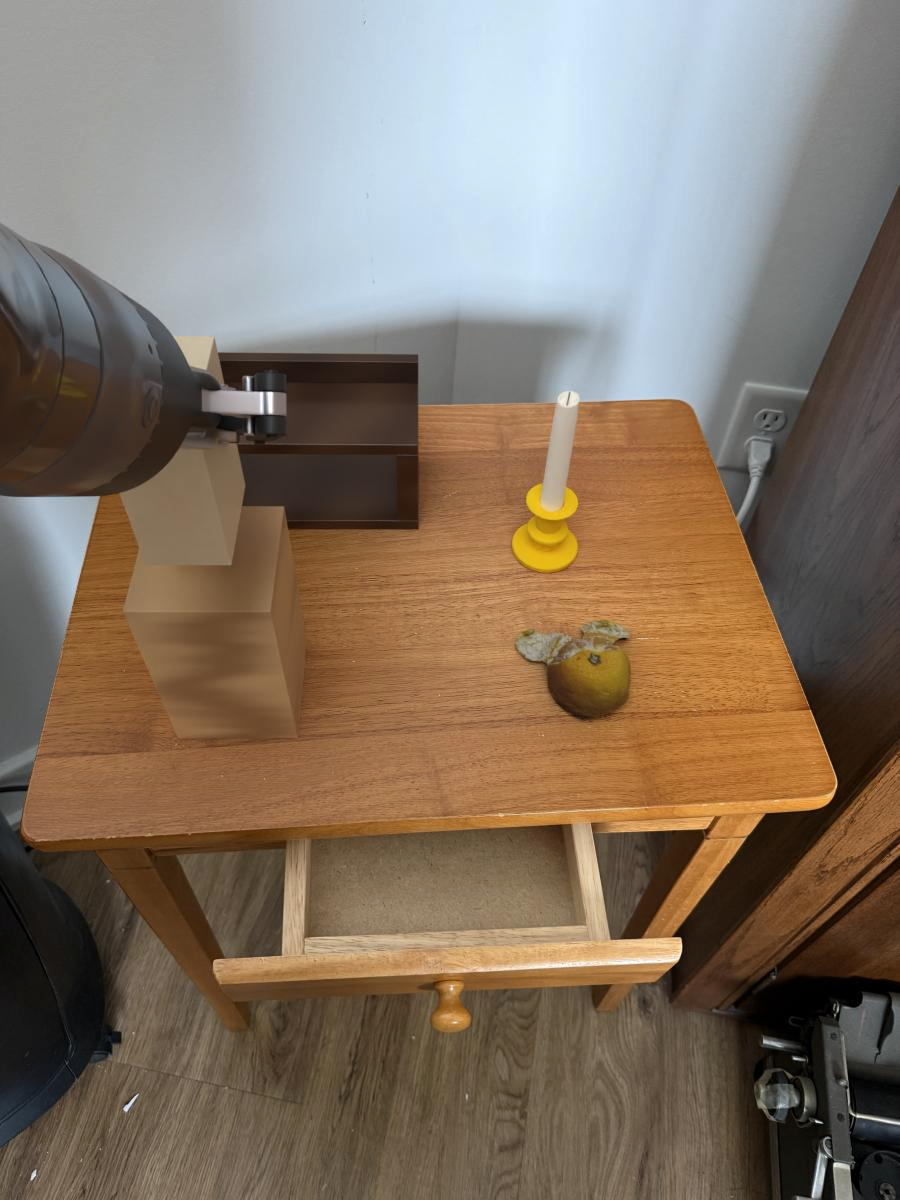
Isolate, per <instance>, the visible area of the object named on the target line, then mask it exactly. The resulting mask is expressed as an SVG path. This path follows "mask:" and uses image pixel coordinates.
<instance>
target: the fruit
mask: <svg viewBox="0 0 900 1200" xmlns="http://www.w3.org/2000/svg"><path fill="white" fill-rule="evenodd" d="M579 629H581V630H582V632H583V636H582V638H581V639H579V638H575V639H573V640H572V636H570V635H568V634H565V633H564V632H552V633H543V632H540V631H537V630H536V629H535V628H530V629H527V630H525V631H524V630H522V631H520V634H519V635H518V636H517V637H516V639H515V644H514V645H515V648H516V650H517V651H518V653H519V654H520V655H521V656H522V657H523V658H525V659H526V660H527V661H529V662H543V663H544V664H546V676H547V689H548V690H549V693H550V694H551V695H552V697H553V700H554V701H556V703H557V704H558V706H560V708H561V709H562V710H564V711H565V712H567V713H568V714H570V715H571V716H573V717H575V718H579V719H584V720H585V719H586V720H588V719H595V718H599V717H601V716H603V715H608V714H611V713H612V712H615V711H617V709H618V708H619V707H621V706H623V705H624V704H625V703H626V702H627V701H628V700H629V697H630V684H631V673H632V671H631V661H630V659H629V656H628V655H627V653H626V652H625V651H624V650H622V649H621V648H620V647H619V646H617V645H615V643H616V642H617V641H620V642H621V641H625V640H630V639H631V637H632V635H631V632H630V630H628V629H627V628H626V627H625V626H623V625H621V624H618V623H617V622H613V621H610V620H609V619H600V620H592V621H590V622H588V624H586V625H583V626H582V627H581V626H580V627H579Z"/></svg>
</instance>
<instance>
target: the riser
mask: <svg viewBox="0 0 900 1200" xmlns="http://www.w3.org/2000/svg"><path fill="white" fill-rule="evenodd" d="M122 614H123V615H124V619H125V621H126V622H127V625H128V627H129V629H130V632H131V634H132V636H133V638H134V641H135V643H136V645H137V648H138V650H139V652H140V655H141V657H142V659H143V662H144V664H145V667H146V668H147V671H148V673H149V675H150V678H151V680H152V683H153V684H154V687H155V689H156V692H157V694H158V696H159V698H160V701H161V703H162V705H163V707H164V710H165V712H166V715H167V717H168V719H169V721H170V722H169V723H170V724H171V726H172V728H173V731H174V734H175V735H176V738H177V739H178V740H179V739H182V740H183V739H186V740H187V739H298V738H299V733H300V721H301V714H302V713H301V711H302V701H303V692H304V682H305V681H304V680H305V670H306V660H307V650H308V637H307V631H306V625H305V619H304V613H303V607H302V601H301V596H300V589H299V585H298V578H297V572H296V565H295V561H294V556H293V549H292V544H291V539H290V533H289V529H288V526H287V520H286V514H285V508H284V507H283V506H242V508H241V513H240V519H239V525H238V530H237V536H236V542H235V548H234V553H233V559H232V565H146V564H145V562H144V559H143V556H142V554H141V551H140V548H139V547H138V552H137V555H136V558H135V563H134V567H133V570H132V575H131V578H130V582H129V585H128V590H127V594H126V597H125V601H124V605H123V610H122Z"/></svg>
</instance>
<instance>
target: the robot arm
mask: <svg viewBox="0 0 900 1200" xmlns="http://www.w3.org/2000/svg"><path fill="white" fill-rule="evenodd" d="M173 336H174V335H173V334H172V333H171V332H170V330H169V329H168V328H167V327H166V325H165V324H164V323H163V321H161V320H160V319H159V318H158V317H157V315H155V314H154V313H152V312H151V311H150V310H149V309H148V308H146V307H145V306H144V305H142V304H140V303H139V302H138V301H136V300H135V299H133V298H131V297H129V296H128V295H127V294H126V293H124V292H122V291H121V290H119V289H118V288H117V287H116V286H114V285H112V284H111V283H109V282H108V281H106V280H104V279H103V278H102V277H100V276H98V275H97V274H96V273H94V272H93V271H91V270H89V269H88V268H87V267H86V266H84V265H82V264H80V263H79V262H78V261H76V260H74V259H72V258H71V257H69V256H67V255H66V254H63V253H61V252H59V251H57V250H55V249H53V248H51V247H48V246H46V245H43V244H41V243H38V242H35V241H32V240H29V239H27V238H25V237H24V236H22V235H20V234H19V233H18V232H15V231H14V230H13V229H12V228H9V227H8V226H7V225H5V224H3V223H2V222H0V497H1V496H2V497H7V498H8V497H9V498H68V497H70V498H71V497H72V498H74V497H75V498H80V497H82V498H84V497H88V498H89V497H105V496H106V497H107V496H112V495H118V494H119V493H122V492H125V491H128V490H131V489H133V488H135V487H137V486H139V485H142V484H143V483H145V482H147V481H148V480H150V479H151V478H152V477H154V476H155V475H156V474H158V473H159V472H160V471H161V470H162V469H163V468H164V467H165V466H166V465H167V464H168V463H169V462H170V461H171V459H172V458H173V457H174V455H175V454H176V452H177V451H178V450H179V449H184V450H210V449H212V448H213V447H214V445H215V442H216V441H217V442H218V444H221V445H229V443H239V441H240V435H245V436H246V441H254V444H265V441H274V440H277V439H279V438H281V437H283V436H286V435H287V417H286V416H287V404H286V374H282V373H277V371H276V370H265V373H256V374H255V376H254V377H253V376H243V377H242V381H243V391H236V389H235V388H231V387H228V385H223V384H219V382H218V381H217V380H216V378H214V377H213V376H212V374H211V372H210V371H208V370H204V369H200V368H196V367H192V366H189V364H188V362H187V360H186V358H185V356H184V354H183V352H182V350H181V348H180V347H179V345H178V343H177V342H176V340H175V339H174V337H173Z"/></svg>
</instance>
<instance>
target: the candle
mask: <svg viewBox="0 0 900 1200" xmlns="http://www.w3.org/2000/svg"><path fill="white" fill-rule="evenodd" d="M580 397H581V396H580V395H579V394H578V392H576V391H573V390H566V391H563V392H561V393H560V394H559V395H558V396H557V399H556V404H555V409H554V412H553V418H552V424H551V431H550V436H549V444H548V449H547V456H546V461H545V469H544V475H543V480H542V483H539V484H536V485H534V486H533V487H531V488H530V489H529V491H528V492H527V493H526V497H525V502H526V505H527V508H528V510H530V512H531V513H532V514H534V515H533V516H531V517H530V518H529V520H528V522H527V523H525V524H523V525H521V526H520V527H519V528H518V529H517V530H516V531H515V532H514V533H513V536H512V540H511V551H512V554H513V556H514V558H515V559H516V560H517V562H518V563H520V564H521V565H522V566H523V567H525V568H526V569H529V570H531V571H533V572H537V573H542V574H543V573H544V574H546V573H547V574H552V573H559V572H560V571H563V570H565V569H567V568H568V567H570V566H571V565H572V564H573V563H574V561H575V560H576V558H577V554H578V552H579V545H578V544H579V543H578V540H577V538H576V536H575V535H574V534H573V532H572V531H571V530H570V529H569V525H568V523H567V522H566V520H567V519H568V518H570V517H571V516H573V515H574V514H575V513H576V511H577V509H578V507H579V500H578V497H577V495H576V493H575V492H574V491H573V490H572V489H571V488H569V487H568V486H567V482H568V477H569V470H570V465H571V459H572V452H573V446H574V441H575V434H576V429H577V424H578V423H577V422H578V416H579V407H580V400H581V398H580ZM565 519H566V520H565Z"/></svg>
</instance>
